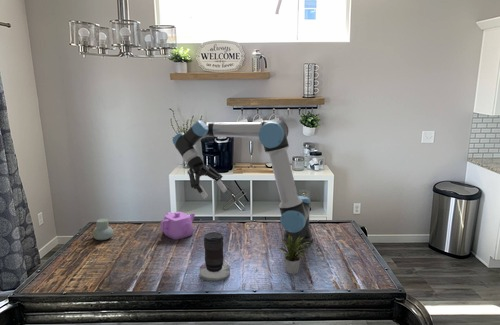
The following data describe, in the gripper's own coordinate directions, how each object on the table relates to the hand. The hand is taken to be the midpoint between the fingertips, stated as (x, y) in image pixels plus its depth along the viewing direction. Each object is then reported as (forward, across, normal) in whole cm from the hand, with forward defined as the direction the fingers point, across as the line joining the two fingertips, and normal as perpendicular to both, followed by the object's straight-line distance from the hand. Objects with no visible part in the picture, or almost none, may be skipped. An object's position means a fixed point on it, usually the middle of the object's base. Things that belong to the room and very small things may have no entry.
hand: (216, 194), depth 183 cm
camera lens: (+30, +21, -5) cm, 37 cm away
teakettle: (0, 0, -40) cm, 40 cm away
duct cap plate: (+32, +21, -7) cm, 39 cm away
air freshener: (-19, +28, -59) cm, 68 cm away
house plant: (+50, -1, +11) cm, 51 cm away
